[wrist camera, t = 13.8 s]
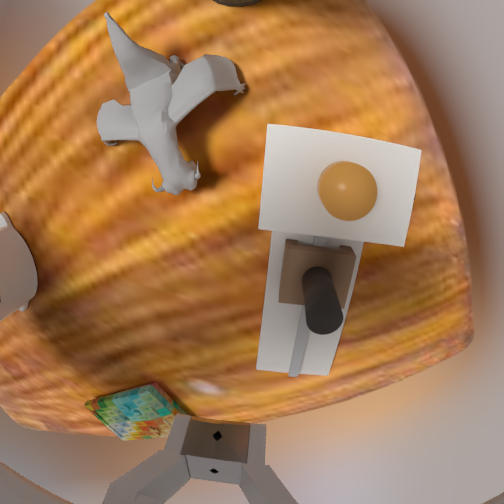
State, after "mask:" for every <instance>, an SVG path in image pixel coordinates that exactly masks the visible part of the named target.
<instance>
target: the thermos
mask: <svg viewBox="0 0 504 504" xmlns="http://www.w3.org/2000/svg"><path fill="white" fill-rule="evenodd" d="M213 1H215V2H217V3H218V4H222V5H226V6H246V5H250V4H255V3H257V2H259V1H261V0H213Z"/></svg>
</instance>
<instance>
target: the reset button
mask: <svg viewBox="0 0 504 504" xmlns="http://www.w3.org/2000/svg"><path fill="white" fill-rule="evenodd" d="M317 190H318V195H319V198H320V200H321V202H322V203H323V205H324V207H325V208H326V210H327V211H328V212H329V213H330V214H331V215H332V216H334V217H335V218H337V219H340V220H344V221H354V220H358V219H361V218H363V217H364V216H366V215H367V214H368V213H369V212H370V211H371V210H372V208H373V207H374V205H375V202H376V199H377V185H376V181H375V179H374V177H373V175H372V174H371V173H370V172H369V171H368V170H367V169H366V168H365V167H363V166H361V165H359V164H356V163H353V162H349V161H337V162H334V163H332V164H330V165H329V166H327V167H326V168H325V169H324V170H323V171H322V173H321V175H320V177H319V180H318V184H317Z"/></svg>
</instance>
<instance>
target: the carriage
mask: <svg viewBox="0 0 504 504" xmlns="http://www.w3.org/2000/svg"><path fill="white" fill-rule="evenodd" d="M355 261H356V255H355V253H354V251H353V249H352V248H351V246H344V245H340V248H339V249H337V248H328V247H320V246H311V245H302V244H298V243H297V240H292V239H286V240H285V248H284V256H283V264H282V272H281V279H280V287H279V303H287V304H297V305H305V315H306V324H307V326H308V328H309V329H310V330H311V331H312V332H314V333H316V334H320V335H326V334H330V333H333V332H334V331H336V330H337V329H338V328H339V327H340V326H341V324H342V322H343V313H342V309H344V307H345V303H346V299H347V295H348V291H349V287H350V283H351V279H352V274H353V270H354V265H355Z"/></svg>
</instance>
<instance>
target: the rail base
mask: <svg viewBox="0 0 504 504" xmlns="http://www.w3.org/2000/svg"><path fill="white" fill-rule="evenodd" d="M420 157H421V150H419V149H415V148H411V147H407V146H403V145H399V144H395V143H390V142H386V141H381V140H376V139H371V138H366V137H361V136H355V135H350V134H344V133H338V132H332V131H325V130H318V129H311V128H303V127H294V126H285V125H275V124H268V125H267V136H266V148H265V159H264V171H263V182H262V193H261V205H260V216H259V227H258V229H261V230H270V231H272V235H271V245H270V254H269V263H268V272H267V281H266V290H265V299H264V307H263V316H262V324H261V333H260V341H259V349H258V357H257V365H256V370H265V371H274V372H285V373H289V376H291V377H298V374H310V375H327V376H328V374H329V371H330V368H331V365H332V362H333V359H334V356H335V352H336V349H337V346H338V343H339V339H340V336H341V333H342V329H343V326H344V322H345V318H346V315H347V311H348V307H349V304H350V300H351V296H352V292H353V288H354V284H355V280H356V276H357V271H358V267H359V262H360V258H361V253H362V249H363V244H364V242H371V243H379V244H386V245H394V246H401V247H404V244H405V240H406V235H407V231H408V226H409V222H410V217H411V212H412V207H413V202H414V200H415V190H416V184H417V178H418V172H419V164H420ZM337 161H349V162H353V163H356V164H359V165H361V166H363V167H365V168H366V169H367V170H368V171H369V172H370V173H371V174H372V175H373V177H374V179H375V181H376V185H377V199H376V202H375V205H374V207H373V208H372V210H371V211H370V212H369V213H368V214H367V215H366V216H364V217H363V218H361V219H358V220H354V221H344V220H340V219H337V218H335V217H334V216H332V215H331V214H330V213H329V212H328V211H327V210H326V208H325V207H324V205H323V203H322V202H321V200H320V198H319V195H318V190H317V184H318V180H319V177H320V175H321V173H322V171H323V170H324V169H325V168H326V167H327V166H329V165H330V164H332V163H334V162H337ZM286 239H292V240H297V243H298V244H302V245H311V246H320V247H328V248H337V249H339V248H340V245H344V246H351V248H352V249H353V251H354V253H355V255H356V261H355V265H354V270H353V274H352V279H351V283H350V287H349V291H348V295H347V299H346V303H345V307H344V309H342V313H343V322H342V324H341V326H340V327H339V328H338V329H337V330H336V331H334V332H333V333H330V334H326V335H320V334H316V333H314V332H312V331H311V330H310V329H309V328H308V326H307V324H306V315H305V305H297V304H287V303H279V287H280V279H281V272H282V264H283V256H284V248H285V240H286Z"/></svg>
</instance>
